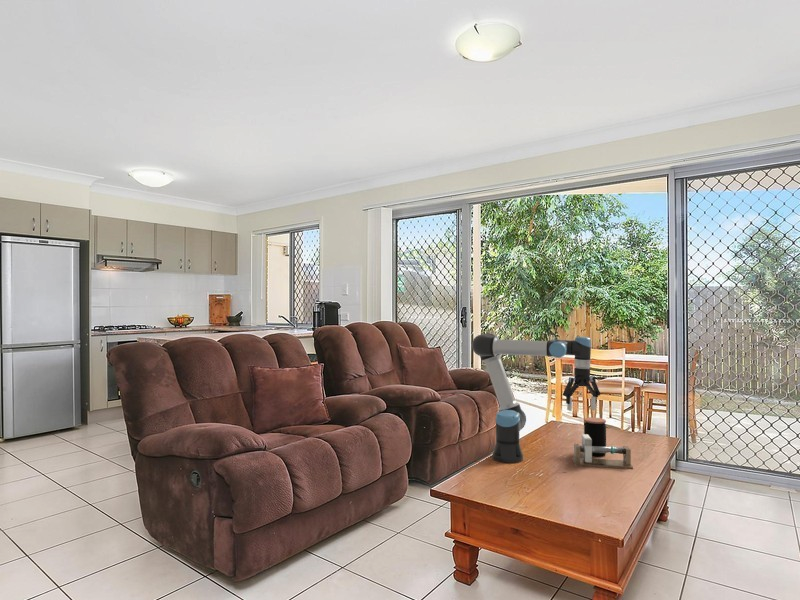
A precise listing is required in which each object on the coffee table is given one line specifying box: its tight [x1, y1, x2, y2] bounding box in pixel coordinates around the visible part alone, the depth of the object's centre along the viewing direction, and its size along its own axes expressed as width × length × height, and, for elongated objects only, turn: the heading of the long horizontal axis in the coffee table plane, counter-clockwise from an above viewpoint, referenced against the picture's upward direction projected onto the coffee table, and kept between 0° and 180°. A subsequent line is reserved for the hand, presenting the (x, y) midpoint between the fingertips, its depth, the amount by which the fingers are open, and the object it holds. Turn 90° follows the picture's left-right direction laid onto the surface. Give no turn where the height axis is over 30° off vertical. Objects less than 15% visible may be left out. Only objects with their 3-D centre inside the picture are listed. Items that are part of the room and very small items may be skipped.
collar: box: [581, 433, 593, 462], centre depth 250 cm, size 3×10×11 cm, turn 169°
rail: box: [572, 443, 634, 470], centre depth 248 cm, size 26×10×9 cm, turn 79°
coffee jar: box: [583, 416, 607, 458], centre depth 265 cm, size 11×11×18 cm
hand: (581, 410), depth 256 cm, fingers open, 13 cm apart
